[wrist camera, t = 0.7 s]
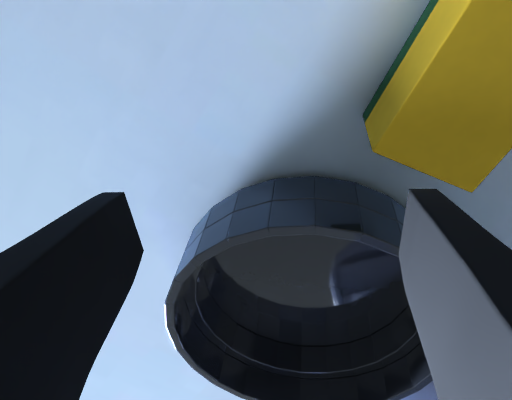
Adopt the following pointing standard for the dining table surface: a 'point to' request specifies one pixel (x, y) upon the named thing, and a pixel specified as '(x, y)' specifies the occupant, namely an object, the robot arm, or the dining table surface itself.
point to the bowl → (298, 295)
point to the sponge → (449, 93)
